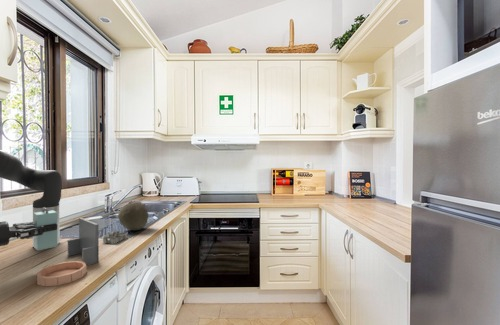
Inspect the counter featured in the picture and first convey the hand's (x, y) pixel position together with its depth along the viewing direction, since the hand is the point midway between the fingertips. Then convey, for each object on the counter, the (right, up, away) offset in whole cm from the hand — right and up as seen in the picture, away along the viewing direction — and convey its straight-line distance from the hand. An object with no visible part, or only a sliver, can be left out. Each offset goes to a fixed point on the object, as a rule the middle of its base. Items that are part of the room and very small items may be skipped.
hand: (54, 225), depth 92 cm
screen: (+6, -14, +7) cm, 17 cm away
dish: (+9, -15, -9) cm, 19 cm away
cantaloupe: (+7, -14, +46) cm, 49 cm away
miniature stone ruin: (+6, -15, +30) cm, 34 cm away
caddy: (-2, -7, -2) cm, 8 cm away
